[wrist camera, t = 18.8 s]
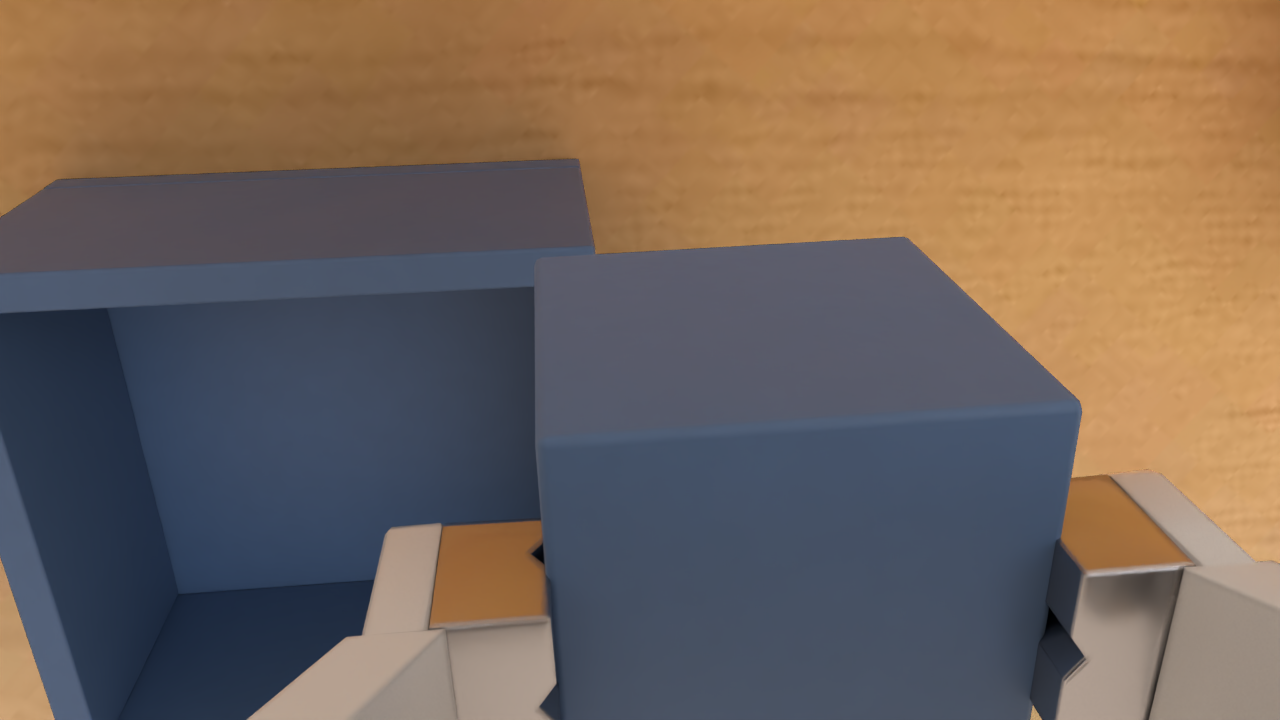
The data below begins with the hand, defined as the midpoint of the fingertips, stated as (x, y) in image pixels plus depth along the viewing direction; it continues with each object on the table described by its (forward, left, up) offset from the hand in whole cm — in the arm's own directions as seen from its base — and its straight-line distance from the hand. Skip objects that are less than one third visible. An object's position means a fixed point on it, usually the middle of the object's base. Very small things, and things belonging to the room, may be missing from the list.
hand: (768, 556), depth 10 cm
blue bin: (+7, -7, -18) cm, 20 cm away
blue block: (0, 0, -3) cm, 3 cm away
